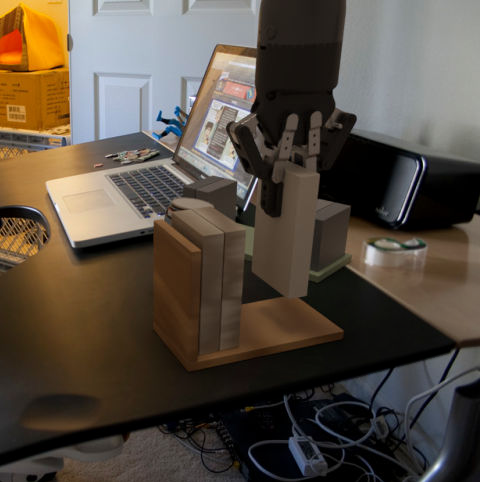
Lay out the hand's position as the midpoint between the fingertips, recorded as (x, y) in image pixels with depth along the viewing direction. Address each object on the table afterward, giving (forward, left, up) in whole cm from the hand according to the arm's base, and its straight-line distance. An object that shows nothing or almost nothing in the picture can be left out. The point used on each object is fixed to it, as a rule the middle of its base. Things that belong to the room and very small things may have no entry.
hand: (283, 212), depth 65 cm
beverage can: (+12, 0, -14) cm, 19 cm away
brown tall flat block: (0, 0, -8) cm, 8 cm away
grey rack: (+13, -18, -14) cm, 26 cm away
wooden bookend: (+1, +3, -14) cm, 14 cm away
